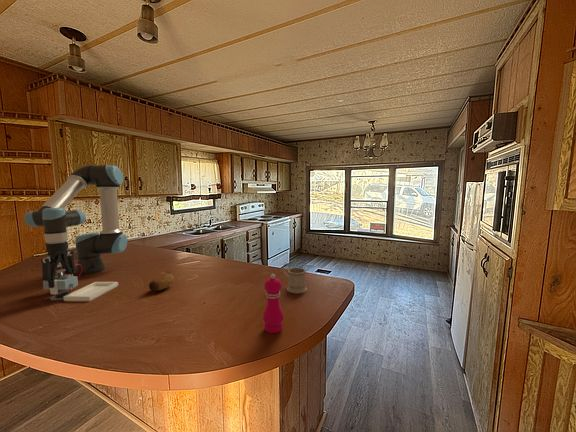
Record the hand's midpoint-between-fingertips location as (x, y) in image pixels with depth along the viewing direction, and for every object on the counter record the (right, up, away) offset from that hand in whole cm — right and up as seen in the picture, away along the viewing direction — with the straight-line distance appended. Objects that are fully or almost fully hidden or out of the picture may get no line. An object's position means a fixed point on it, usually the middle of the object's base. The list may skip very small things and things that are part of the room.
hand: (61, 290), depth 115 cm
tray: (+11, -3, +5) cm, 12 cm away
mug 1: (-5, -2, +10) cm, 11 cm away
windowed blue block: (0, +2, 0) cm, 2 cm away
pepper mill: (+100, -6, -27) cm, 104 cm away
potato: (+42, -2, +9) cm, 43 cm away
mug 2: (+108, -2, +10) cm, 108 cm away
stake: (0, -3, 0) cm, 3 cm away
